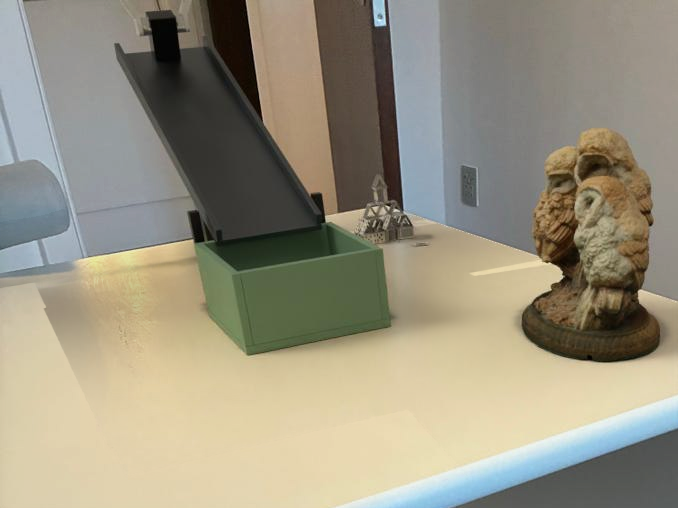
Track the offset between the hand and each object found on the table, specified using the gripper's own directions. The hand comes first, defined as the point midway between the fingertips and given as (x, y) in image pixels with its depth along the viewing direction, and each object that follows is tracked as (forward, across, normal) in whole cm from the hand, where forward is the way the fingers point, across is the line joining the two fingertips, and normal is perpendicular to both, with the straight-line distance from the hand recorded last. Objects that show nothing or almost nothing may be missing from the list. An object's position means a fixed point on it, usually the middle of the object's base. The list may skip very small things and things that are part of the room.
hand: (164, 34), depth 111 cm
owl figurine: (+24, +22, -58) cm, 66 cm away
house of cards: (+24, +20, -13) cm, 34 cm away
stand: (+24, 0, -19) cm, 31 cm away
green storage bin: (+24, 0, -38) cm, 45 cm away
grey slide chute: (+9, 0, -15) cm, 18 cm away
